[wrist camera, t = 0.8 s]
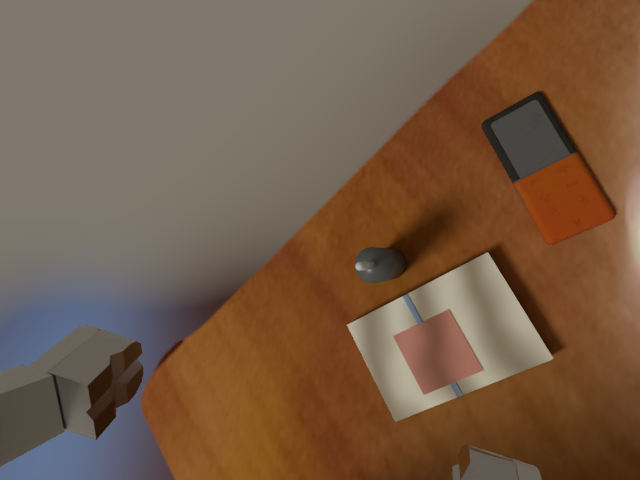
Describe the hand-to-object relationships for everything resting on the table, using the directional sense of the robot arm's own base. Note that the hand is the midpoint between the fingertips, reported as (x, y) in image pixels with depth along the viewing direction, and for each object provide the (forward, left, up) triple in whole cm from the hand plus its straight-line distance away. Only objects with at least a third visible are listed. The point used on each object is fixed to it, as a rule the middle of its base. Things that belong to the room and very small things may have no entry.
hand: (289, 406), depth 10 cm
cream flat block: (+4, +4, -38) cm, 39 cm away
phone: (-14, -7, -39) cm, 42 cm away
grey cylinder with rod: (+5, -6, -38) cm, 39 cm away
